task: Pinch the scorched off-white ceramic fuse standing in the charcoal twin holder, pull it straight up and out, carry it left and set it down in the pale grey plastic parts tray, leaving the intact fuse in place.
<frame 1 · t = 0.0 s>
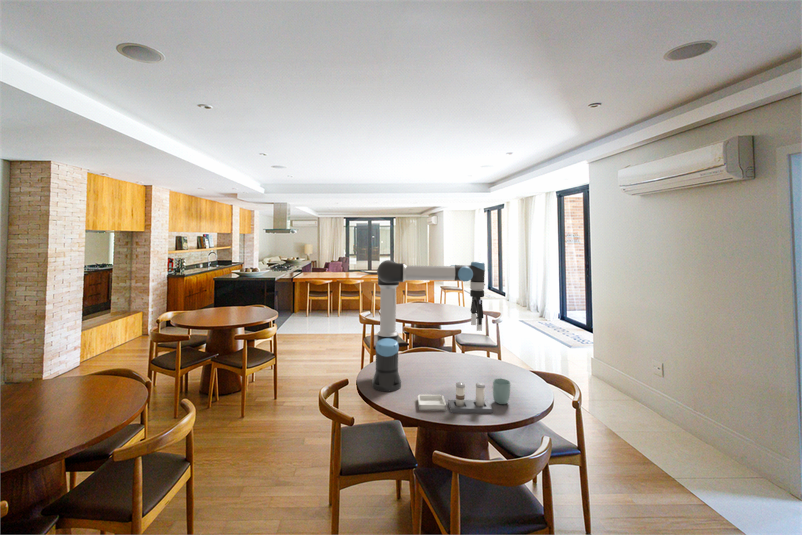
hand: (476, 327, 194), 28 cm above the table, fingers open, 13 cm apart
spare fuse: (479, 408, 157), resting in holder
tray: (431, 404, 160), on the table
cup: (501, 402, 164), on the table
holder: (469, 408, 157), on the table
blown fuse: (459, 408, 157), resting in holder
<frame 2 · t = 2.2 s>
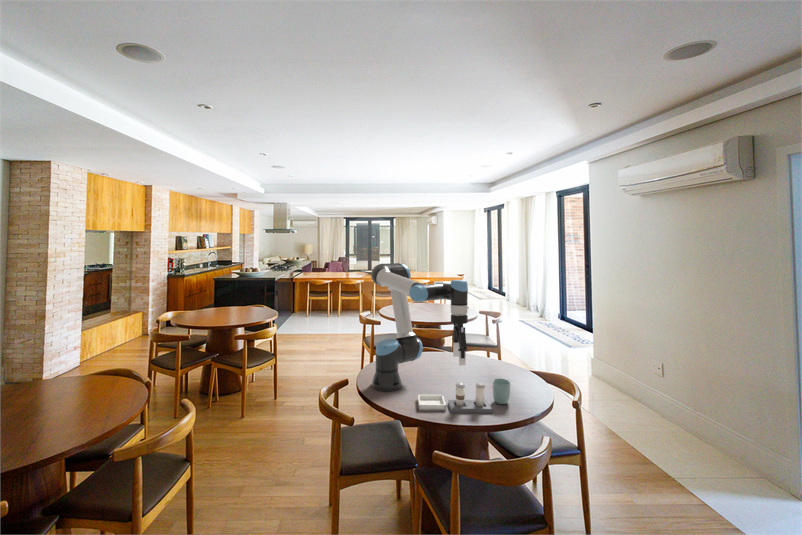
hand: (459, 360, 159), 21 cm above the table, fingers open, 13 cm apart
nothing on the table moved.
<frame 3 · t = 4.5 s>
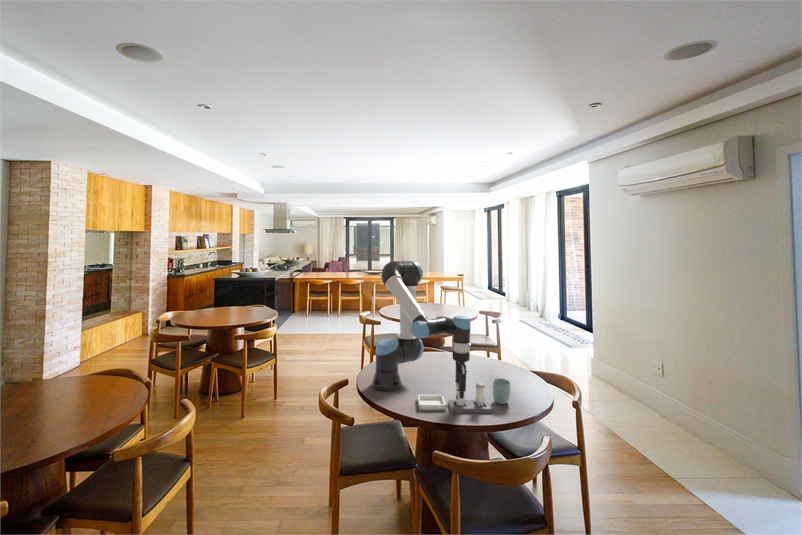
hand: (459, 402, 157), 3 cm above the table, fingers closed on blown fuse, 4 cm apart
blown fuse: (459, 408, 157), resting in holder, touching gripper
everything else where it was.
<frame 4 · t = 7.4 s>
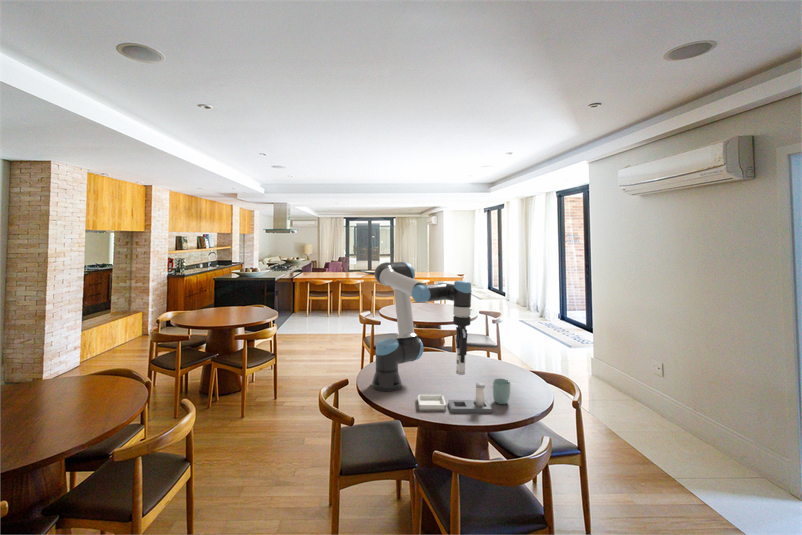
hand: (460, 367, 156), 19 cm above the table, fingers closed on blown fuse, 4 cm apart
blown fuse: (460, 373, 156), point 16 cm above the table, touching gripper
everything else where it was.
when the fingers open (5 cm above the table, at t = 10.6 s): blown fuse drops 1 cm, resting on tray.
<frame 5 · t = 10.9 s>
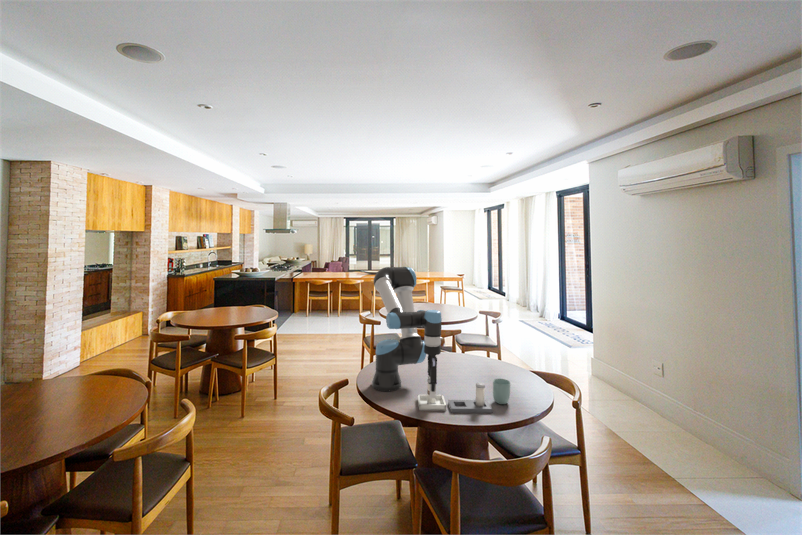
hand: (431, 393, 160), 5 cm above the table, fingers open, 8 cm apart
blown fuse: (431, 403, 160), point 1 cm above the table, touching tray
everything else where it was.
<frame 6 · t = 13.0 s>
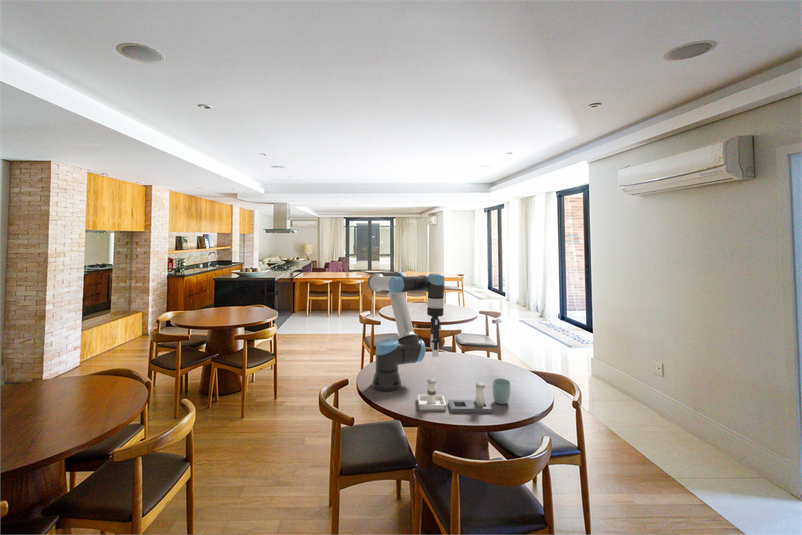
hand: (434, 351, 163), 23 cm above the table, fingers open, 13 cm apart
nothing on the table moved.
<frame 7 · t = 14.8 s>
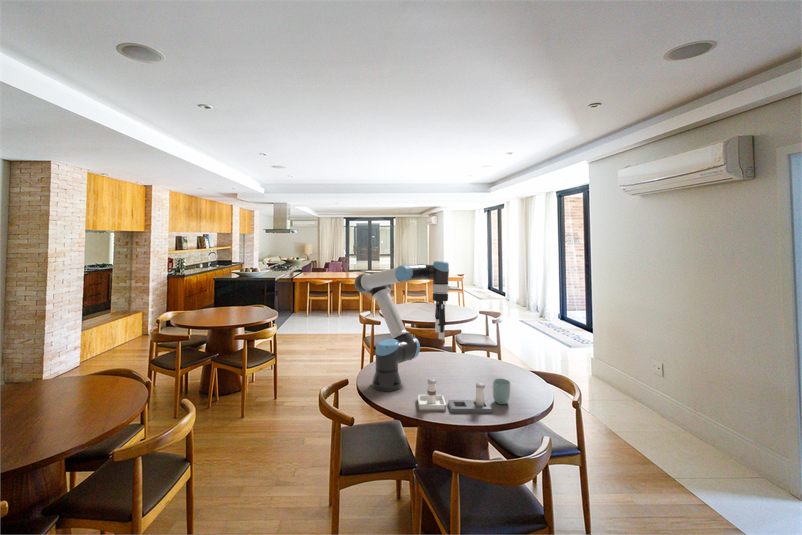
hand: (439, 335, 172), 29 cm above the table, fingers open, 13 cm apart
nothing on the table moved.
at the end: blown fuse inside the target area on the tray (0.0 cm from its centre), point 0.6 cm above the tray's base; the gripper is holding nothing; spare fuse moved 0.0 cm from its start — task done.
